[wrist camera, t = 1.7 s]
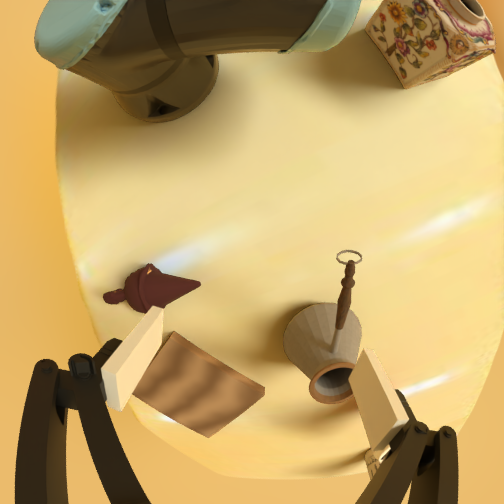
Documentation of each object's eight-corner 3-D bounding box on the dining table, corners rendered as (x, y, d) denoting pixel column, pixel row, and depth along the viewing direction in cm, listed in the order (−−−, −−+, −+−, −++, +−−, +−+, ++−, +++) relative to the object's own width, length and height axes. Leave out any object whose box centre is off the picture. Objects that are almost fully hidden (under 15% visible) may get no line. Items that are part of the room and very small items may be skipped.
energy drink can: (379, 441, 46) (395, 489, 32) (390, 447, 47) (405, 491, 33) (359, 453, 48) (371, 501, 33) (370, 458, 48) (382, 502, 34)
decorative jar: (411, 19, 25) (462, -30, 8) (449, 76, 27) (518, 45, 10) (360, 29, 27) (404, -38, 10) (402, 91, 29) (476, 49, 12)
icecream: (183, 255, 31) (92, 272, 33) (195, 318, 30) (102, 324, 33) (205, 254, 37) (121, 269, 40) (214, 306, 37) (129, 314, 40)
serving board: (133, 386, 45) (130, 392, 43) (174, 331, 40) (170, 337, 38) (210, 431, 46) (208, 438, 45) (264, 387, 42) (264, 395, 40)
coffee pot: (352, 355, 40) (380, 420, 25) (283, 362, 41) (287, 434, 26) (359, 223, 35) (413, 250, 20) (276, 228, 36) (281, 260, 21)
